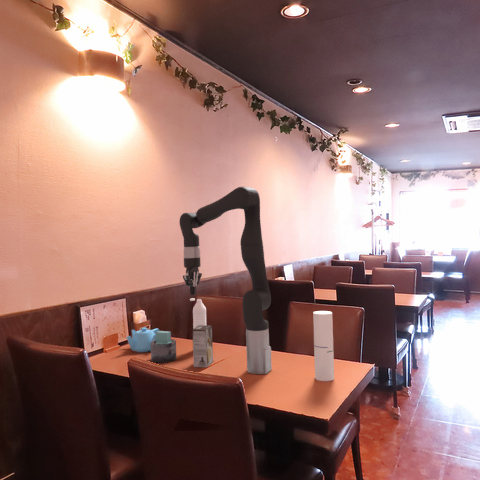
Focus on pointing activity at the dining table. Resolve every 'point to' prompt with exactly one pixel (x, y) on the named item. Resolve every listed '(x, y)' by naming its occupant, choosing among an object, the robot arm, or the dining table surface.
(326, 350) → the cylindrical container
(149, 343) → the teapot
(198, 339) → the coffee box
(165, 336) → the teal short cylinder
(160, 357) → the dark grey canister
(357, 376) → the dining table surface
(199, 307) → the water bottle
